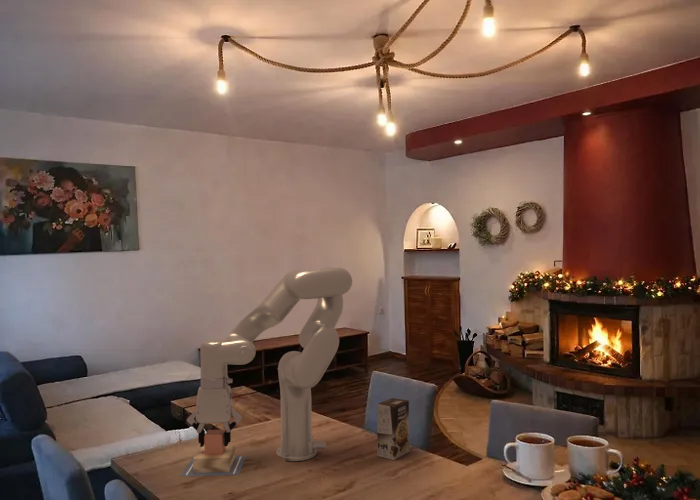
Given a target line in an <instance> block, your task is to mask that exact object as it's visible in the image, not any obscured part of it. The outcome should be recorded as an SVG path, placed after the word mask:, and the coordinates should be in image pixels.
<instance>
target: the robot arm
mask: <svg viewBox="0 0 700 500" xmlns="http://www.w3.org/2000/svg"><path fill="white" fill-rule="evenodd" d="M352 284H353V278H352V275H351V273H350V272H349V271H348V270H347V269H345V268H343V267H332V266H330V267H329V266H328V267H327V266H326V267H322V268H320V269H319V270H317V269H316V270H291V271H289V272H287V273H286V274H285V275H284V276H283V277H282V278H281V279H280V281H278V283H276V285H275V286H274V287H273V289H272V290H271V291H270V292H269V294H268V295H267V296H266V297H265V298H264V299H263V301H261V303H259V304H258V305H257V306H256V307H255V308H254V309H253V310H251V311H250V312H249V313H248V314H247V315H246V316H245V317H243V318H242V319H241V320H240V321H239V322H238V323H237V324H236V326H235V327H234V328H233V329H232V330H231V332H230V333H229V334H228V335H227V336H226V338H225V339H215V338H213V339H207V340H204V341H202V342H201V343H200V349H199V351H200V352H199V353H200V354H199V355H200V386H199V387H198V390H197V395H196V406H195V410H194V411H193V412H192V414H190V415H189V416H188V417H187V419H186V421H187V422H188V424H190V425H191V427H192V428H193V429H194V430H195V431H196V433H197V434H198V435H197V436H198V444H199V446H200V447H203V446H204V436H205V434H206V430H205V429H204V427H205V425H207V424H222V425H223V428H224V430H225V433H224V446H227V445H229V444H230V443H231V435H232V433H231V431H232V430H233V429H234V428H235V427H236V425H238V423H239V422H240V421H241V420H242V418H243V417H242V415H241V414H239V413H238V412H237V411H236V410H235V409H234V403H233V393H232V389H231V388H232V387H231V385H229V384H233V378H230V377H229V375H228V365H236V366H237V365H239V366H240V365H241V366H242V365H246V364H249V363H250V362H252V361H253V360H254V358H255V357H256V353H257V352H256V347H255V345H254V343H253V342H255V340H256V339H257V338H258V337H259V336H260V335H261V334H262V333H264V332H265V331H267V330H269V329H272V328H274V327H276V326H277V325H278V326H279V324H281V323H282V322H283V321H284V320H285V319H286V317H287V316H288V315H289V314H290V313H291V311H292V310H293V308H294V307H295V306H297V304H298V303H299V302H300V301H301V300H314V299H315V300H316V299H317V300H316V301H317V303H316V305H315V306H314V309H313V310H312V312H311V314H310V315H309V317H308V319H307V321H306V322H305V324H304V326H303V327H302V328H301V331H300V332H299V335H298V343H299V344H300V346H301V347H302V348H303V350H302V352H301V351H297V350H292V351H288V352H286V353H284V354H283V355H282V357H281V358H280V360H279V362H278V368H277V372H278V382H279V389H280V390H279V393H280V447H278V448H277V449H276V451H275V454H276V456H278V457H280V458H283V459H284V460H285V461H287V462H301V461H306V460H311V459H312V458H314V457H315V456H316V455H317V454H318V449H320V450H327V442H326V441H325V442H324V441H323V440H315V439H314V436H313V435H312V434H313V433H312V432H313V431H312V430H313V428H312V390H311V389H312V388H314V387H315V386H316V385H318V383H319V382H320V381H321V380H322V378H323V376H324V374H325V373H326V371H327V369H328V368H329V366H330V364H331V362H332V361H333V359H334V357H335V355H336V353H337V351H338V349H339V346H340V336H339V333H338V331H337V330H336V328H335V327H336V326H337V324H338V322H339V319H340V318H341V316H342V313H343V309H344V297H343V295H345V294H347V293H348V292H349V291H350V290H351V287H352ZM233 417H234V419H233V421H232V422H230V421H231V419H232V418H233ZM285 461H284V462H285Z"/></svg>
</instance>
